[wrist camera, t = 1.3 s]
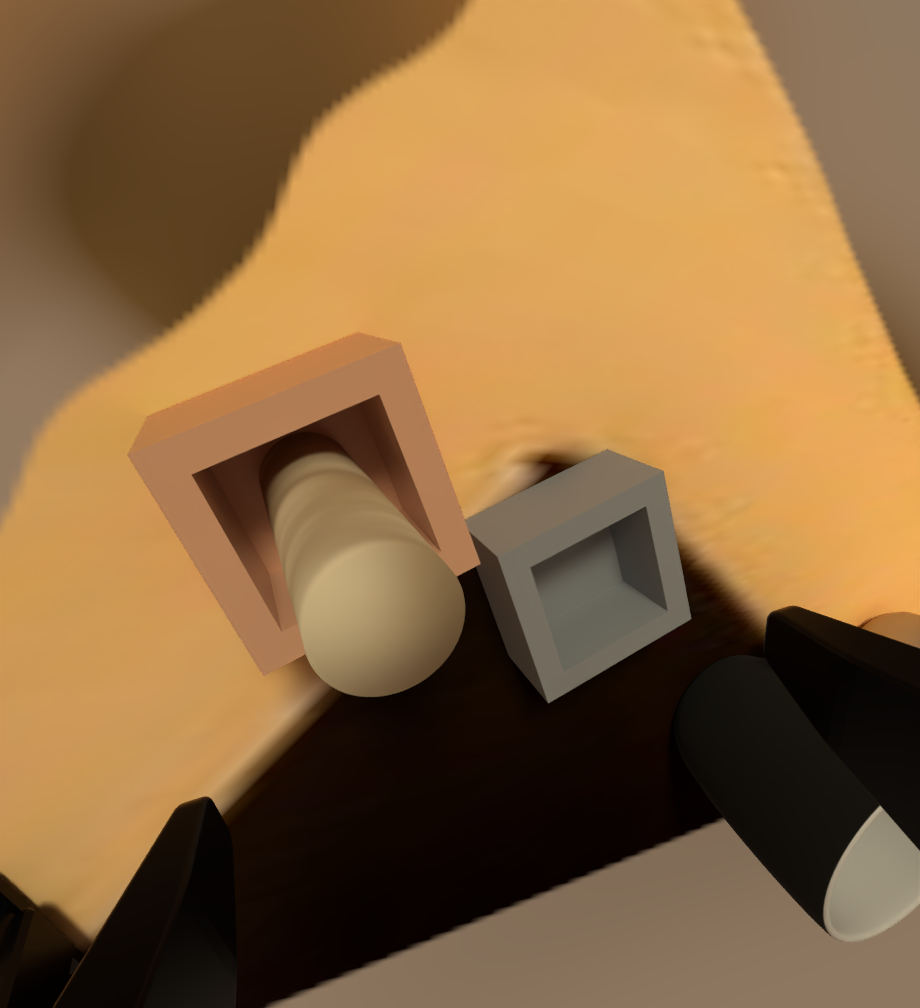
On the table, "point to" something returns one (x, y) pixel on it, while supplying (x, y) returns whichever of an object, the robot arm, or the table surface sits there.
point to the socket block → (581, 570)
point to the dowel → (357, 571)
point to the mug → (795, 800)
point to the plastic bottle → (897, 627)
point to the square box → (239, 454)
